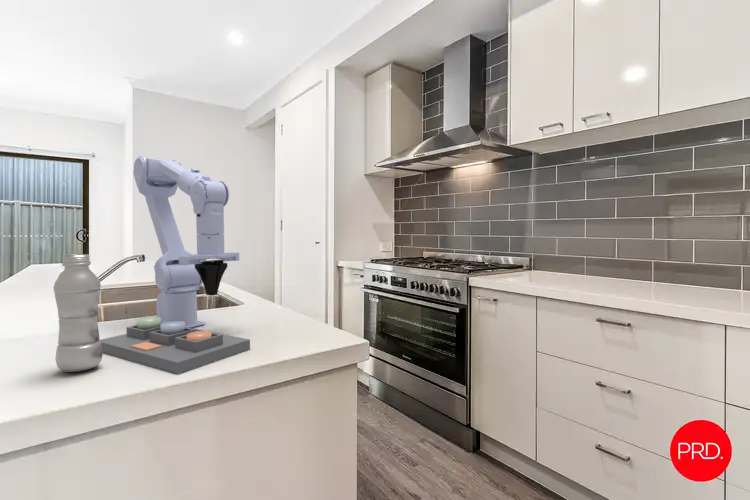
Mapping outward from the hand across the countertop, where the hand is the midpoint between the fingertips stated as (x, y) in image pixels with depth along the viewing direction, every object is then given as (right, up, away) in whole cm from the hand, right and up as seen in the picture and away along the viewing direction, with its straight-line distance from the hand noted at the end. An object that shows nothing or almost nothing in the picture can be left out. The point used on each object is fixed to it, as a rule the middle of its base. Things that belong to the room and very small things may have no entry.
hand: (211, 294), depth 91 cm
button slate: (-4, -7, -10) cm, 13 cm away
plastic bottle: (-14, -11, -21) cm, 28 cm away
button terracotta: (+3, -8, -14) cm, 16 cm away
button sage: (-11, -6, -6) cm, 14 cm away
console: (-4, -10, -10) cm, 15 cm away
